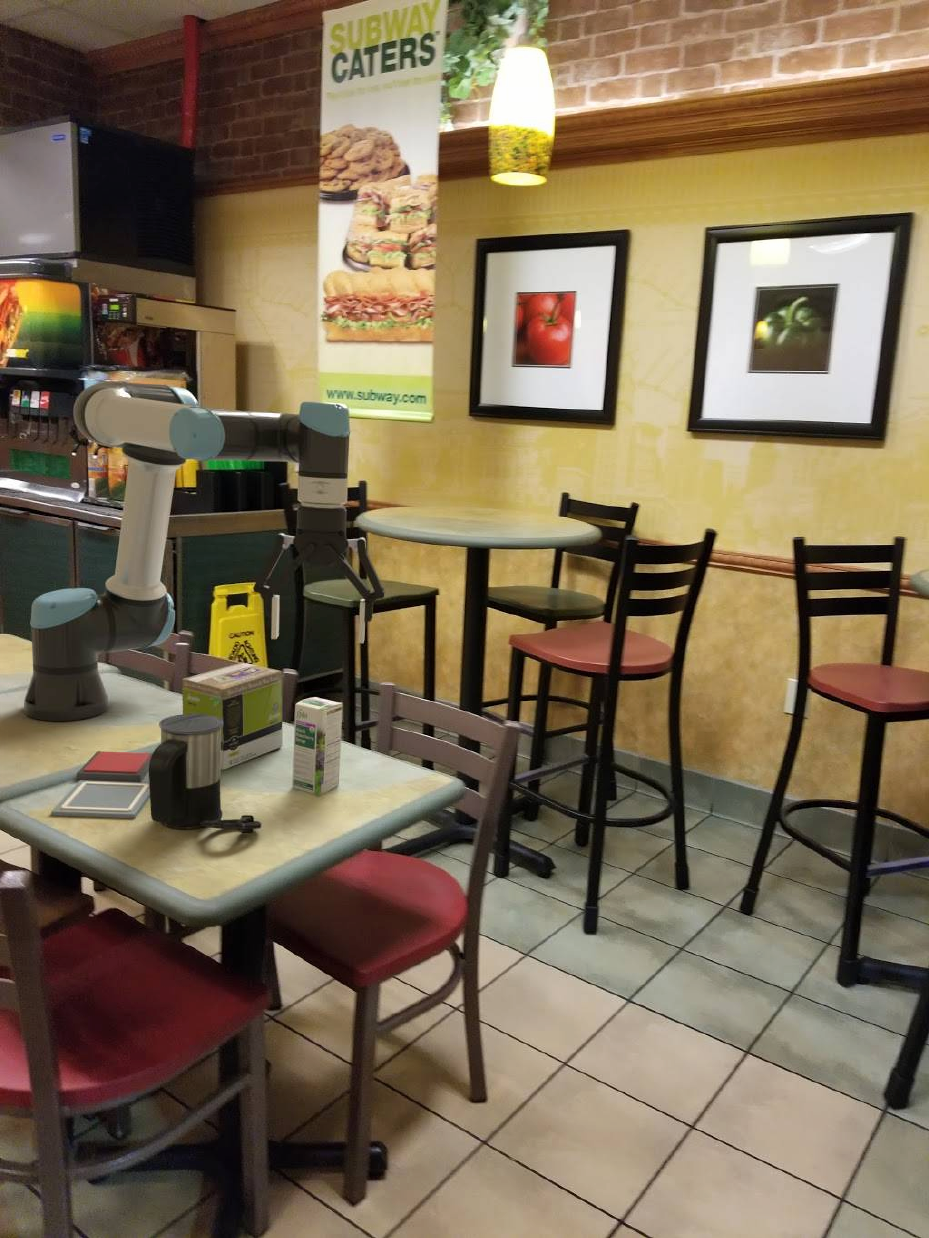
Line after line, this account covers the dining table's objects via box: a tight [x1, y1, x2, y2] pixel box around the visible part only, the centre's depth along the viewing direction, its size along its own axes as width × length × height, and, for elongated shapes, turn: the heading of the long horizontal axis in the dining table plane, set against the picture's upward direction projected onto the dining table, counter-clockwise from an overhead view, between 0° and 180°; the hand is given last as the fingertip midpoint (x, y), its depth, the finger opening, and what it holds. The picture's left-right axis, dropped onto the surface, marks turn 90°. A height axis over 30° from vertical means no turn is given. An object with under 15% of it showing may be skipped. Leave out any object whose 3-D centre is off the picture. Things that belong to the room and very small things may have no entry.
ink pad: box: [76, 750, 153, 783], centre depth 154 cm, size 10×10×2 cm
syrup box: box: [291, 696, 344, 796], centre depth 151 cm, size 6×6×14 cm
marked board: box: [50, 780, 150, 819], centre depth 142 cm, size 12×12×1 cm
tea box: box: [181, 661, 283, 771], centre depth 163 cm, size 15×10×15 cm, turn 149°
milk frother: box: [148, 713, 262, 834], centre depth 134 cm, size 14×16×15 cm
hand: (318, 639), depth 147 cm, fingers open, 13 cm apart
